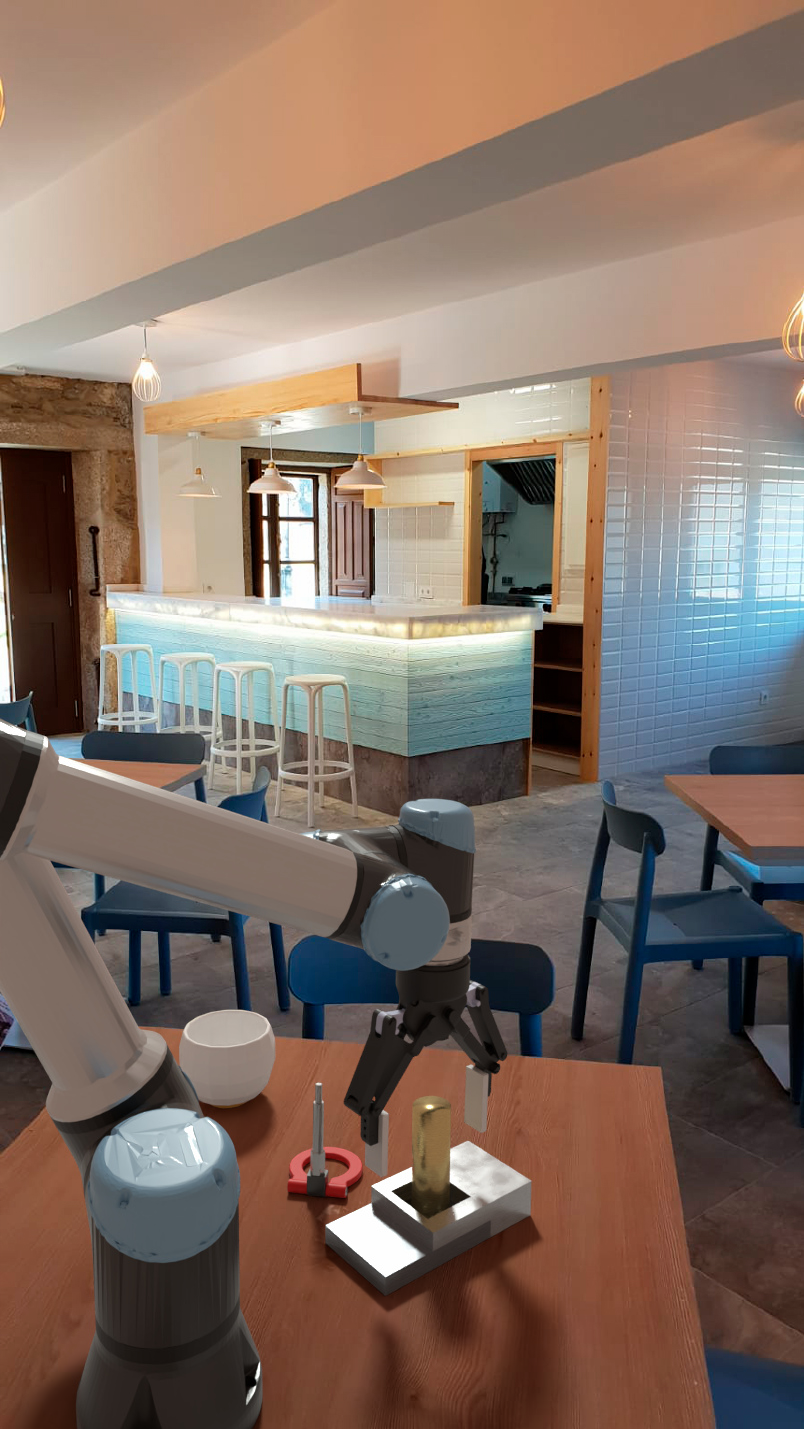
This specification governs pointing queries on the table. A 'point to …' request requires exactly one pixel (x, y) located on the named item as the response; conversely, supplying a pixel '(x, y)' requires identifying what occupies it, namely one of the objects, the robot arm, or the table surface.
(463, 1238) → the square hole base
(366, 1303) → the table surface
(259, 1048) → the cup
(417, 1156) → the pin
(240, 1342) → the robot arm
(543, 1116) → the table surface
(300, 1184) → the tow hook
